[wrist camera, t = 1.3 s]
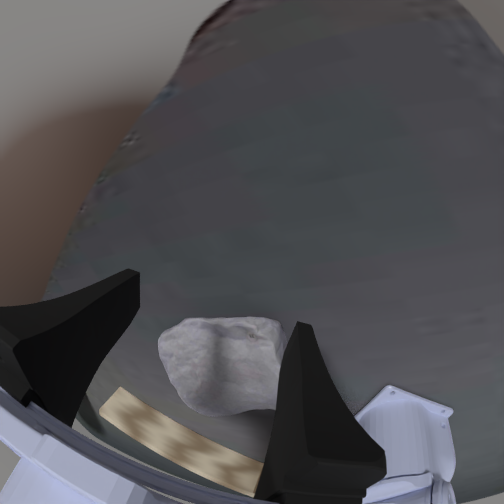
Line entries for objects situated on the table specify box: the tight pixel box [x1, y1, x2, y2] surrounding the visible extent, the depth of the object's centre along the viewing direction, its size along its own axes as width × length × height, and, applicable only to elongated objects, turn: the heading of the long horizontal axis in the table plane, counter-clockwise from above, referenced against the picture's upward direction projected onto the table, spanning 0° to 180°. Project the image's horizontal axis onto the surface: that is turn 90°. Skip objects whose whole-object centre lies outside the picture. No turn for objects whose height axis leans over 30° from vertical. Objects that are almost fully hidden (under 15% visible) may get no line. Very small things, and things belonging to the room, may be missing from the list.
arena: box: [99, 387, 264, 497], centre depth 27 cm, size 23×14×5 cm, turn 68°
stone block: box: [158, 316, 287, 417], centre depth 24 cm, size 12×5×10 cm
